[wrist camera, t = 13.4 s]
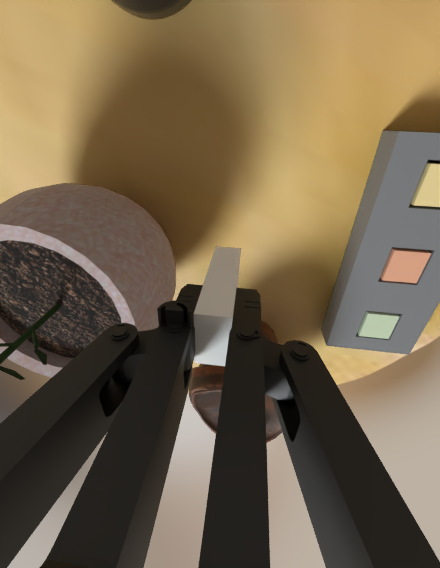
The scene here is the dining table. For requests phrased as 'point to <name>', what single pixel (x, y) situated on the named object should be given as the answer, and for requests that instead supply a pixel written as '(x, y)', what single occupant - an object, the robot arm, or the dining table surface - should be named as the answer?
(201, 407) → the brown tapered container
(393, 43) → the dining table surface
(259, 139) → the dining table surface
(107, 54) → the dining table surface
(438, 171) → the ochre button
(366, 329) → the sage button
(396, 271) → the terracotta button
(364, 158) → the dining table surface
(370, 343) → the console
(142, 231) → the plant pot
